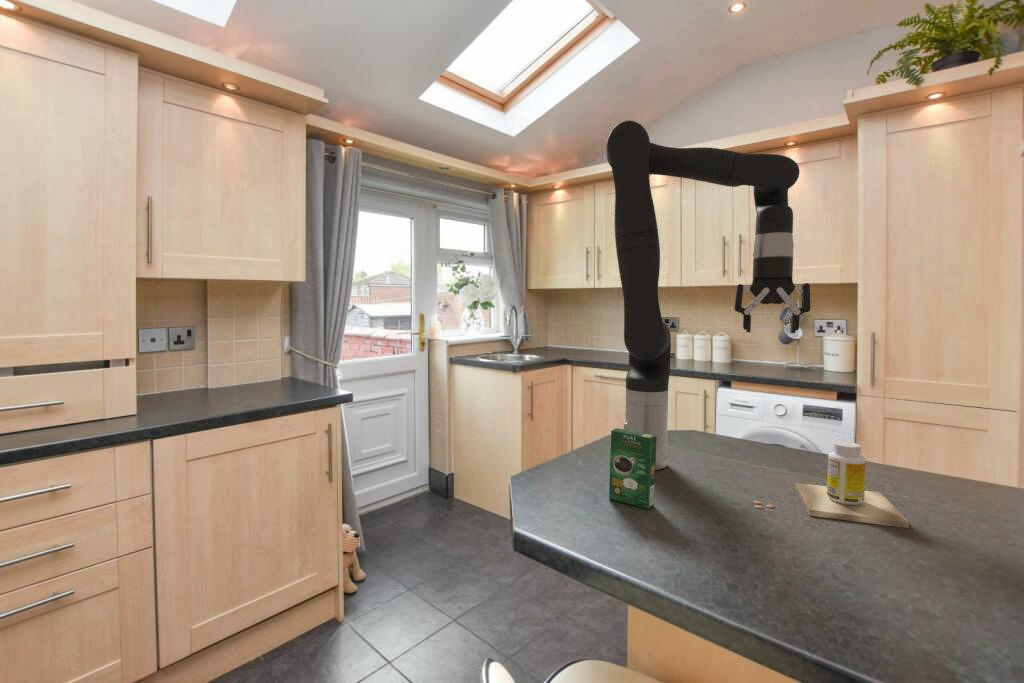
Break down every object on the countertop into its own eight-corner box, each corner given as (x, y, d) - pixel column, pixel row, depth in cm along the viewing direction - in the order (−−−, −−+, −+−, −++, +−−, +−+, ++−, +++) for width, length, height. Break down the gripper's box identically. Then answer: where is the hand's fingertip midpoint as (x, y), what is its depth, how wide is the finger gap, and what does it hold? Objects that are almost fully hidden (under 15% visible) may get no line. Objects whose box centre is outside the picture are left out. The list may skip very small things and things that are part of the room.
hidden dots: (754, 508, 88) (754, 507, 88) (752, 500, 92) (752, 500, 91) (776, 510, 87) (776, 510, 87) (773, 503, 90) (773, 502, 90)
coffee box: (656, 505, 89) (657, 433, 88) (650, 511, 87) (651, 436, 86) (615, 495, 94) (616, 427, 93) (608, 500, 92) (609, 430, 91)
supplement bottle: (868, 501, 89) (871, 444, 88) (858, 509, 85) (860, 450, 84) (832, 492, 93) (835, 438, 92) (821, 499, 89) (824, 443, 89)
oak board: (809, 515, 85) (809, 509, 85) (794, 487, 98) (794, 482, 98) (908, 528, 80) (909, 522, 80) (879, 497, 93) (879, 492, 93)
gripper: (737, 255, 105) (735, 332, 106) (815, 253, 100) (812, 334, 101) (735, 259, 112) (733, 331, 113) (807, 256, 107) (804, 332, 108)
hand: (770, 332), depth 107 cm, fingers open, 8 cm apart
